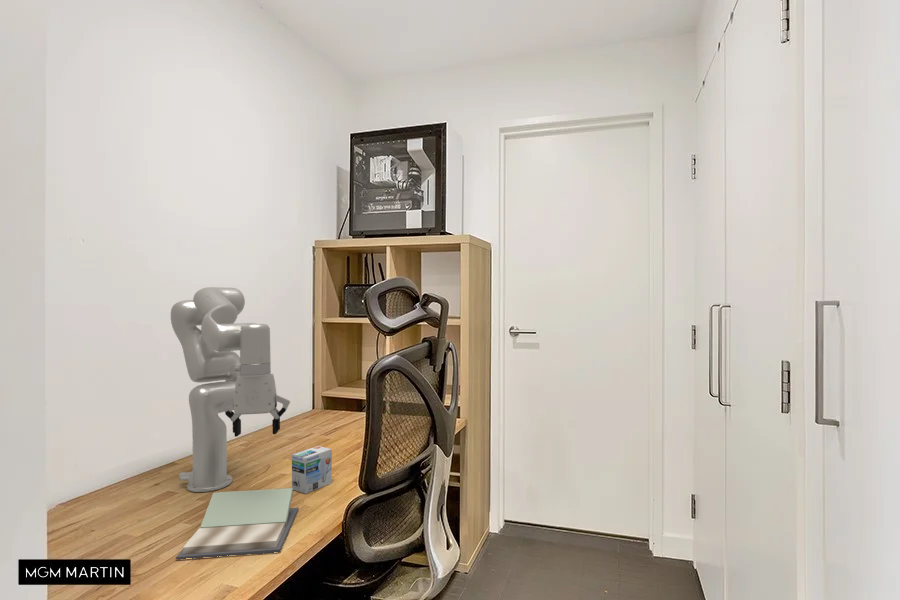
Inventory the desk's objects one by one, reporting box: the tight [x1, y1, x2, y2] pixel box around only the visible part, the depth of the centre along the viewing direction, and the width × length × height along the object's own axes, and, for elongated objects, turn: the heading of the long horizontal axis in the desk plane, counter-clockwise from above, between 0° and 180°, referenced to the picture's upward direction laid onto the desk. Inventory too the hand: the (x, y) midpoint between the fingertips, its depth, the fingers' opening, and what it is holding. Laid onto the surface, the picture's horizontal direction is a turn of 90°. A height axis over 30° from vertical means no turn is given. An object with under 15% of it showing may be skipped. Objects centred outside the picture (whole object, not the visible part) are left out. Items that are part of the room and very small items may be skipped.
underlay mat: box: [175, 507, 299, 560], centre depth 115 cm, size 22×22×1 cm
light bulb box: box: [291, 445, 333, 494], centre depth 144 cm, size 11×7×11 cm, turn 148°
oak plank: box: [182, 523, 286, 554], centre depth 110 cm, size 20×10×2 cm, turn 98°
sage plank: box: [199, 487, 294, 528], centre depth 119 cm, size 20×10×2 cm, turn 98°
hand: (256, 434), depth 125 cm, fingers open, 9 cm apart
